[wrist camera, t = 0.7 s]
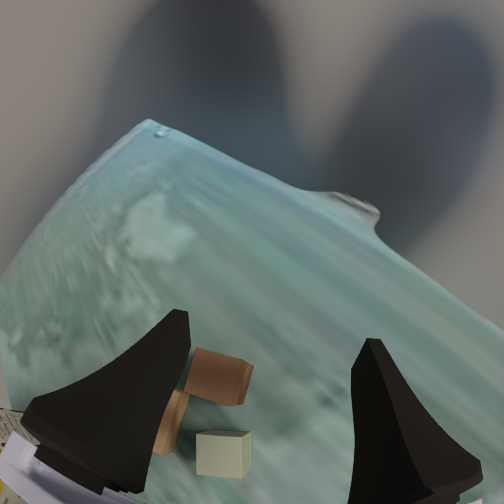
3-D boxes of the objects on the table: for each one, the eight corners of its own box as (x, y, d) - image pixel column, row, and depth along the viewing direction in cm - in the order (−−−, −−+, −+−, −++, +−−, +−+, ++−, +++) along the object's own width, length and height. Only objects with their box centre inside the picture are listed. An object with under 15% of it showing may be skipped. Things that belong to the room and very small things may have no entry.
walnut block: (243, 404, 25) (228, 406, 20) (205, 392, 26) (183, 391, 21) (253, 365, 27) (241, 359, 22) (215, 356, 28) (196, 347, 23)
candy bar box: (85, 496, 21) (-16, 511, 6) (61, 470, 23) (-39, 470, 8) (116, 442, 24) (-3, 444, 10) (88, 415, 26) (-26, 399, 12)
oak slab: (174, 451, 24) (161, 455, 21) (121, 425, 26) (106, 426, 23) (191, 393, 27) (179, 392, 24) (137, 371, 29) (122, 368, 26)
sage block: (250, 468, 22) (242, 478, 18) (210, 465, 22) (196, 474, 19) (250, 431, 24) (241, 437, 20) (210, 429, 24) (196, 434, 21)
